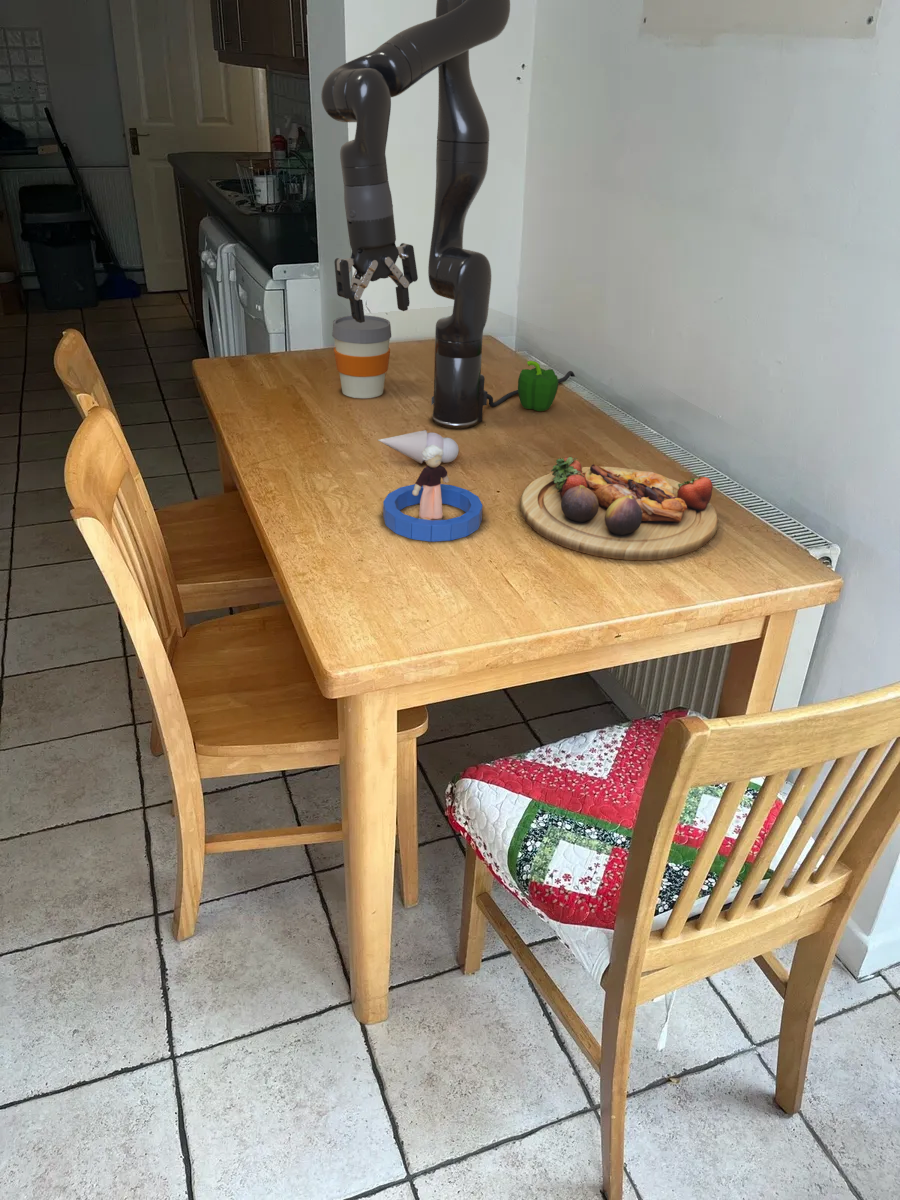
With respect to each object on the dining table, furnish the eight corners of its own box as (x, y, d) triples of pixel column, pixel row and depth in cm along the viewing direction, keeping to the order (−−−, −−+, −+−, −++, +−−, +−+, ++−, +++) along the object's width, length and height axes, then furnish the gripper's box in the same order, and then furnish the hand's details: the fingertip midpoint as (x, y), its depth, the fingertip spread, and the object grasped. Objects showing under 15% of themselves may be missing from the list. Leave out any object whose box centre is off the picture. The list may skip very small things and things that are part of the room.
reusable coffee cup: (402, 390, 201) (403, 321, 193) (368, 405, 192) (367, 333, 184) (357, 379, 206) (356, 311, 198) (322, 393, 197) (319, 323, 189)
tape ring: (447, 491, 155) (447, 476, 154) (500, 527, 144) (501, 511, 143) (366, 510, 148) (366, 494, 146) (416, 550, 137) (416, 533, 135)
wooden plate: (712, 490, 160) (721, 445, 156) (720, 576, 133) (732, 526, 129) (532, 469, 165) (536, 425, 161) (505, 548, 138) (509, 499, 134)
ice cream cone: (373, 461, 165) (453, 472, 168) (378, 451, 159) (460, 463, 162) (376, 429, 166) (455, 441, 169) (381, 418, 160) (463, 430, 163)
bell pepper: (561, 406, 196) (566, 360, 190) (547, 417, 189) (551, 369, 184) (525, 398, 199) (529, 353, 194) (510, 409, 192) (513, 363, 187)
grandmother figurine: (428, 531, 142) (430, 455, 136) (408, 524, 144) (409, 449, 138) (454, 513, 148) (457, 440, 141) (434, 507, 150) (437, 434, 143)
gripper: (394, 203, 150) (405, 302, 159) (319, 218, 144) (334, 321, 153) (419, 208, 145) (428, 310, 154) (342, 224, 138) (356, 330, 147)
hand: (381, 315), depth 153 cm, fingers open, 8 cm apart
